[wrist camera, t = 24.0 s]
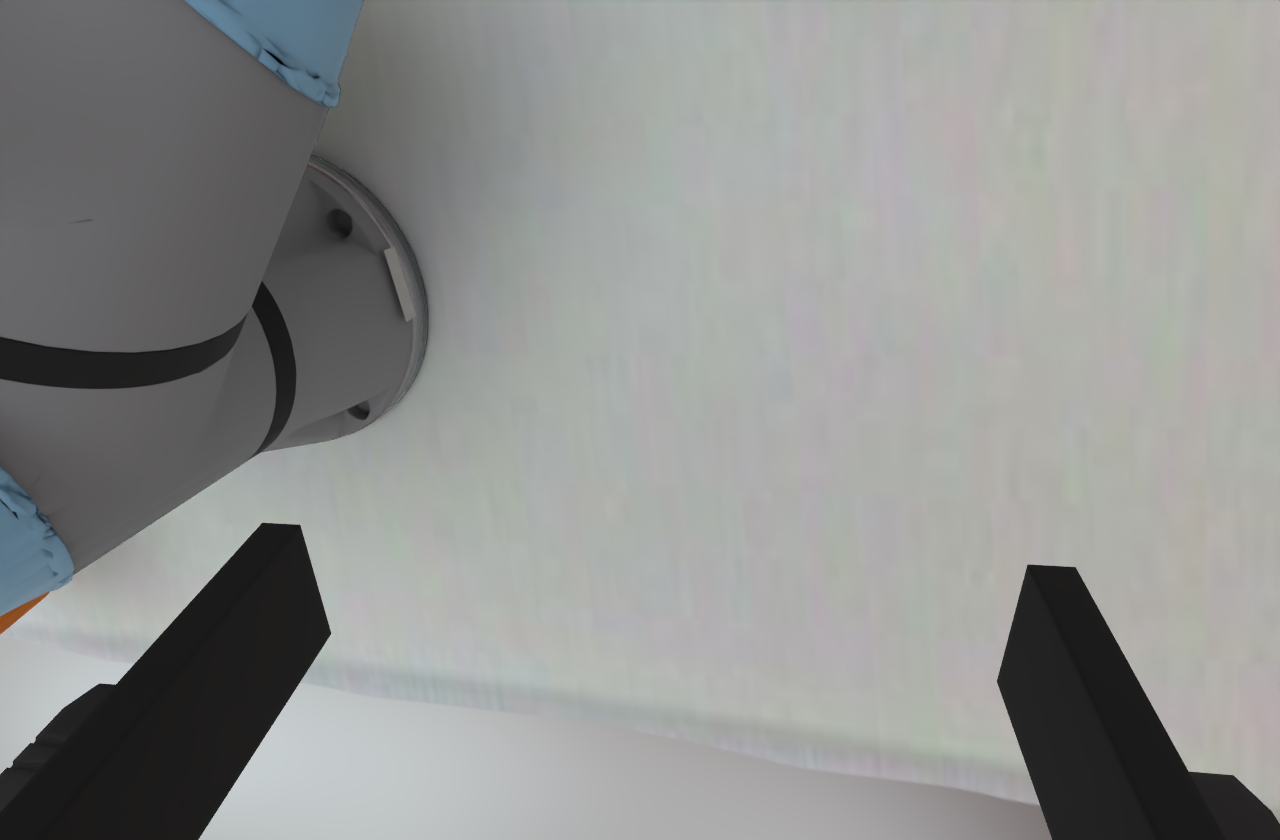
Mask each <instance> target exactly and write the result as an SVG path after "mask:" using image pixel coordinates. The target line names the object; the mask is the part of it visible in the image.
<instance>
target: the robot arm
mask: <svg viewBox="0 0 1280 840" xmlns="http://www.w3.org/2000/svg"><path fill="white" fill-rule="evenodd" d="M363 1H364V0H0V616H2V615H4V614H5V613H7V612H9V611H11V610H13V609H15V608H17V607H19V606H21V605H23V604H25V603H27V602H29V601H31V600H33V599H35V598H37V597H39V596H41V595H43V594H45V593H47V592H49V591H53V590H56V589H58V588H60V587H62V586H64V585H65V584H67V583H68V582H70V581H71V580H72V575H74V574H75V573H77V572H78V571H80V570H81V569H83V568H85V567H86V566H88V565H89V564H91V563H92V562H94V561H95V560H97V559H98V558H100V557H101V556H103V555H104V554H106V553H107V552H109V551H111V550H112V549H114V548H115V547H117V546H118V545H120V544H121V543H123V542H124V541H126V540H127V539H129V538H130V537H132V536H133V535H135V534H136V533H138V532H140V531H141V530H143V529H144V528H146V527H147V526H149V525H150V524H152V523H153V522H155V521H156V520H158V519H159V518H161V517H162V516H164V515H165V514H167V513H169V512H170V511H172V510H173V509H175V508H176V507H178V506H179V505H181V504H182V503H184V502H185V501H187V500H188V499H190V498H191V497H193V496H195V495H196V494H198V493H199V492H201V491H202V490H204V489H205V488H207V487H208V486H210V485H211V484H213V483H214V482H216V481H217V480H219V479H220V478H222V477H224V476H225V475H227V474H228V473H230V472H231V471H233V470H234V469H236V468H237V467H239V466H240V465H242V464H243V463H245V462H246V461H248V460H249V459H251V458H252V457H254V456H256V455H257V454H259V453H261V452H265V451H271V450H277V449H283V448H289V447H295V446H301V445H307V444H313V443H319V442H324V441H329V440H334V439H337V438H340V437H343V436H346V435H349V434H352V433H354V432H356V431H358V430H360V429H362V428H364V427H366V426H367V425H369V424H370V423H372V422H374V421H375V420H376V419H378V418H379V417H380V416H382V415H383V414H384V413H386V412H387V411H388V410H390V409H391V408H392V407H393V406H394V405H396V404H397V402H398V401H399V400H400V399H401V398H402V397H403V396H404V395H405V393H406V392H407V391H408V389H409V388H410V386H411V384H412V383H413V381H414V379H415V377H416V375H417V373H418V371H419V368H420V366H421V363H422V359H423V356H424V352H425V347H426V341H427V330H428V313H427V303H426V296H425V291H424V286H423V282H422V279H421V275H420V272H419V269H418V266H417V264H416V261H415V258H414V256H413V254H412V251H411V249H410V247H409V245H408V243H407V241H406V239H405V238H404V236H403V234H402V233H401V231H400V229H399V228H398V226H397V225H396V223H395V222H394V220H393V219H392V218H391V216H390V215H389V213H388V212H387V211H386V210H385V209H384V207H383V206H382V205H381V204H380V203H379V201H378V200H377V199H376V198H375V197H374V196H373V195H372V194H371V193H370V192H369V191H368V190H367V189H365V188H364V187H363V186H362V185H361V184H360V183H358V182H357V181H356V180H355V179H353V178H352V177H351V176H349V175H348V174H346V173H345V172H344V171H342V170H340V169H339V168H337V167H335V166H334V165H332V164H330V163H328V162H326V161H324V160H322V159H320V158H318V157H315V156H312V155H311V153H312V151H313V148H314V146H315V143H316V141H317V138H318V136H319V133H320V131H321V128H322V125H323V123H324V120H325V118H326V115H327V113H328V110H329V108H330V107H336V106H337V103H338V101H339V98H340V90H341V88H340V86H339V83H338V78H339V75H340V72H341V68H342V65H343V62H344V59H345V56H346V53H347V50H348V47H349V44H350V41H351V38H352V35H353V31H354V28H355V25H356V22H357V19H358V16H359V13H360V10H361V7H362V4H363ZM330 635H331V631H330V628H329V624H328V621H327V617H326V614H325V610H324V607H323V603H322V600H321V596H320V593H319V589H318V586H317V582H316V579H315V575H314V572H313V568H312V565H311V561H310V558H309V554H308V551H307V547H306V544H305V540H304V537H303V533H302V530H301V526H300V525H291V524H273V523H262V524H261V525H260V526H259V527H258V528H257V529H256V531H255V532H254V533H253V534H252V535H251V536H250V537H249V538H248V539H247V540H246V542H245V543H244V544H243V545H242V546H241V547H240V548H239V549H238V550H237V551H236V553H235V554H234V555H233V556H232V557H231V558H230V559H229V560H228V561H227V563H226V564H225V565H224V566H223V567H222V568H221V569H220V570H219V571H218V572H217V574H216V575H215V576H214V577H213V578H212V579H211V580H210V581H209V582H208V584H207V585H206V586H205V587H204V588H203V589H202V590H201V591H200V592H199V593H198V595H197V596H196V597H195V598H194V599H193V600H192V601H191V602H190V603H189V605H188V606H187V607H186V608H185V609H184V610H183V611H182V612H181V613H180V614H179V616H178V617H177V618H176V619H175V620H174V621H173V622H172V623H171V624H170V626H169V627H168V628H167V629H166V630H165V631H164V632H163V633H162V634H161V635H160V637H159V638H158V639H157V640H156V641H155V642H154V643H153V644H152V645H151V646H150V648H149V649H148V650H147V651H146V652H145V653H144V654H143V655H142V656H141V658H140V659H139V660H138V661H137V662H136V663H135V664H134V665H133V666H132V668H131V669H130V670H129V671H128V672H127V673H126V674H125V675H124V676H123V678H122V679H121V680H120V681H119V682H118V683H117V684H116V685H111V684H98V685H97V686H95V687H94V688H92V689H91V690H89V691H88V692H86V693H85V694H83V695H82V696H80V697H79V698H78V699H76V700H75V701H73V702H72V703H70V704H69V705H68V706H66V707H64V708H63V709H62V710H61V711H60V712H59V713H58V715H56V716H55V718H54V719H53V720H52V721H51V722H50V723H49V724H48V725H47V726H46V727H45V728H44V729H43V730H42V731H41V732H40V734H38V735H37V737H36V741H35V742H34V743H30V744H29V745H28V746H27V747H26V748H25V749H24V750H23V751H22V752H21V753H20V755H19V756H18V757H17V758H16V759H15V760H14V761H13V766H12V767H11V768H6V769H5V770H4V771H3V772H2V773H1V774H0V840H198V839H199V838H200V836H201V835H202V833H203V831H204V830H205V828H206V827H207V825H208V824H209V822H210V821H211V819H212V818H213V816H214V814H215V813H216V811H217V810H218V808H219V807H220V805H221V804H222V802H223V801H224V799H225V797H226V796H227V794H228V793H229V791H230V790H231V788H232V787H233V785H234V783H235V782H236V780H237V779H238V777H239V776H240V774H241V773H242V771H243V770H244V768H245V766H246V765H247V763H248V762H249V760H250V759H251V757H252V756H253V754H254V753H255V751H256V749H257V748H258V746H259V745H260V743H261V742H262V740H263V738H264V737H265V735H266V734H267V732H268V731H269V729H270V728H271V726H272V725H273V723H274V721H275V720H276V718H277V717H278V715H279V714H280V712H281V711H282V709H283V708H284V706H285V705H286V703H287V701H288V700H289V698H290V697H291V695H292V694H293V692H294V691H295V689H296V687H297V686H298V684H299V683H300V681H301V680H302V678H303V677H304V675H305V674H306V672H307V670H308V669H309V667H310V666H311V664H312V663H313V661H314V660H315V658H316V656H317V655H318V653H319V652H320V650H321V649H322V647H323V646H324V644H325V643H326V641H327V639H328V638H329V636H330ZM997 683H998V686H999V689H1000V692H1001V694H1002V697H1003V700H1004V703H1005V706H1006V709H1007V711H1008V714H1009V717H1010V720H1011V723H1012V726H1013V729H1014V731H1015V734H1016V737H1017V740H1018V743H1019V746H1020V749H1021V751H1022V754H1023V757H1024V760H1025V763H1026V766H1027V769H1028V771H1029V774H1030V777H1031V780H1032V783H1033V786H1034V789H1035V791H1036V794H1037V797H1038V800H1039V803H1040V806H1041V808H1042V811H1043V814H1044V817H1045V820H1046V823H1047V826H1048V829H1049V831H1050V834H1051V837H1052V840H1280V824H1279V822H1278V821H1277V819H1276V817H1275V816H1274V814H1273V813H1272V811H1271V810H1270V809H1268V808H1267V807H1266V806H1265V805H1264V804H1263V803H1262V802H1261V801H1260V800H1259V799H1258V798H1257V797H1256V796H1255V795H1254V794H1253V793H1252V792H1250V791H1249V790H1248V789H1247V788H1246V787H1245V786H1244V785H1243V784H1242V783H1241V782H1240V781H1239V780H1238V779H1237V778H1236V777H1235V776H1233V775H1222V774H1210V773H1198V772H1188V770H1187V768H1186V766H1185V765H1184V763H1183V761H1182V759H1181V757H1180V755H1179V754H1178V752H1177V750H1176V748H1175V746H1174V745H1173V743H1172V741H1171V739H1170V737H1169V736H1168V734H1167V732H1166V730H1165V728H1164V727H1163V725H1162V723H1161V721H1160V719H1159V717H1158V716H1157V714H1156V712H1155V710H1154V708H1153V707H1152V705H1151V703H1150V701H1149V699H1148V698H1147V696H1146V694H1145V692H1144V690H1143V689H1142V687H1141V685H1140V683H1139V681H1138V680H1137V678H1136V676H1135V674H1134V672H1133V670H1132V669H1131V667H1130V665H1129V663H1128V661H1127V660H1126V658H1125V656H1124V654H1123V652H1122V651H1121V649H1120V647H1119V645H1118V643H1117V642H1116V640H1115V638H1114V636H1113V634H1112V632H1111V631H1110V629H1109V627H1108V625H1107V623H1106V622H1105V620H1104V618H1103V616H1102V614H1101V613H1100V611H1099V609H1098V607H1097V605H1096V604H1095V602H1094V600H1093V598H1092V596H1091V594H1090V593H1089V591H1088V589H1087V587H1086V585H1085V584H1084V582H1083V580H1082V578H1081V576H1080V575H1079V573H1078V571H1077V569H1076V567H1061V566H1043V565H1027V569H1026V573H1025V577H1024V581H1023V584H1022V588H1021V592H1020V596H1019V600H1018V603H1017V607H1016V611H1015V615H1014V619H1013V622H1012V626H1011V630H1010V634H1009V638H1008V641H1007V645H1006V649H1005V653H1004V657H1003V660H1002V664H1001V668H1000V672H999V676H998V679H997Z"/></svg>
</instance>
